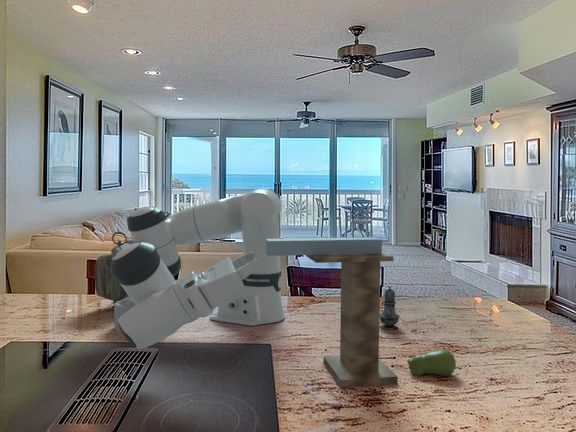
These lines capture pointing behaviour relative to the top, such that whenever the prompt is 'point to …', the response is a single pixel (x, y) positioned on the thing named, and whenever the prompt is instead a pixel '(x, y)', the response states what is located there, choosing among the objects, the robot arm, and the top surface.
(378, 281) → the shelf stand
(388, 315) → the dark chess piece
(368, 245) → the batten
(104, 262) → the tabletop clock
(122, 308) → the lumpy-topped squat cylinder
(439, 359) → the pear
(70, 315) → the top surface
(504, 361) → the top surface
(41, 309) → the top surface
